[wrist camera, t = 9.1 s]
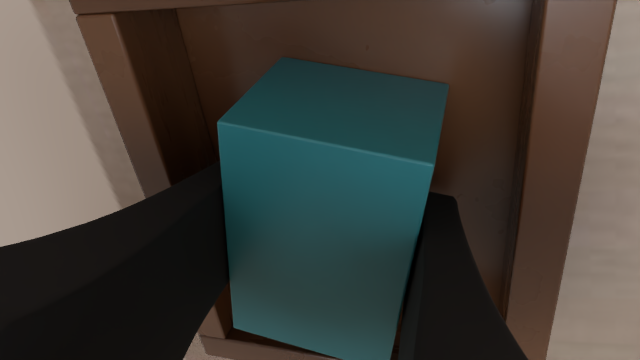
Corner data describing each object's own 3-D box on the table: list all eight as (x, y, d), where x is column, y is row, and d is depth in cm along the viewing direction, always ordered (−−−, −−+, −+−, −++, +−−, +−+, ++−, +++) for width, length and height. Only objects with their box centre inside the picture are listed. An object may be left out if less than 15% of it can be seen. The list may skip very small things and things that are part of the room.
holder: (528, 333, 15) (534, 417, 13) (240, 293, 18) (205, 355, 16) (600, -111, 9) (637, -97, 6) (135, -59, 12) (53, -36, 10)
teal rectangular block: (280, 240, 15) (232, 328, 12) (281, 55, 12) (215, 121, 9) (407, 271, 14) (386, 373, 12) (449, 83, 11) (435, 165, 8)
